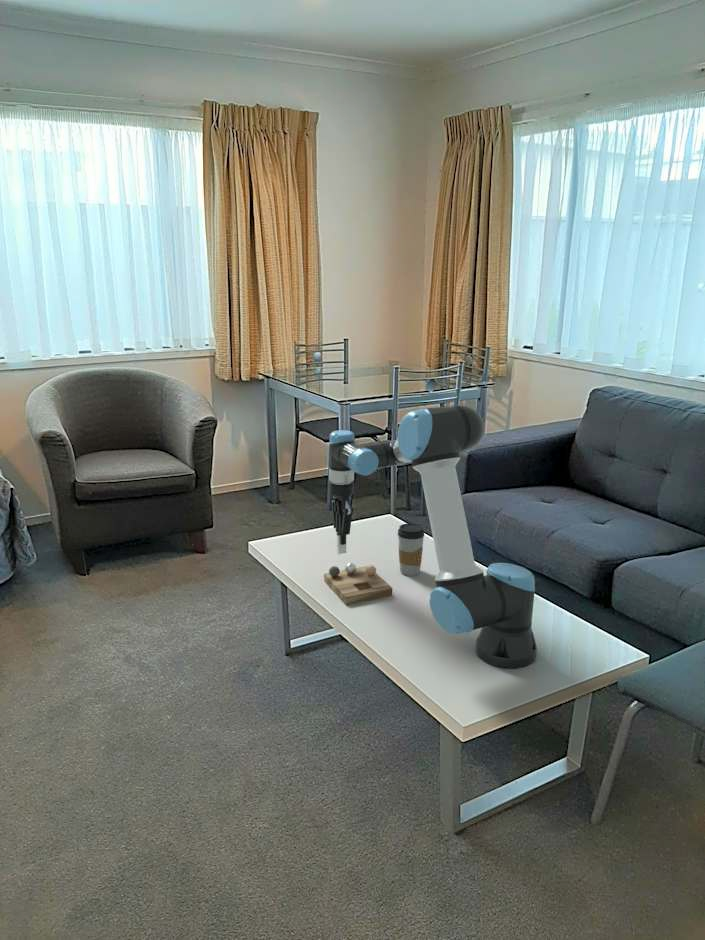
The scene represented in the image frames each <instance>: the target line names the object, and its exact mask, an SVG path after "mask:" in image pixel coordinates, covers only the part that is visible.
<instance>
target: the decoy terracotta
mask: <svg viewBox="0 0 705 940" xmlns="http://www.w3.org/2000/svg"><path fill="white" fill-rule="evenodd" d="M366 566H367V568H366V573H367V574H368V575H370V576H372V575H374V574H375V573H377V568H376V566H374V565H372V564H370V565H366Z"/></svg>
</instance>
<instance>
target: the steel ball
mask: <svg viewBox="0 0 705 940" xmlns="http://www.w3.org/2000/svg"><path fill="white" fill-rule="evenodd" d="M356 568H357V566H356V564H355V563H353V562H349V563H347V564H345V567H344V570H345V571H346V572H347V573H348V574H353V573H354V572H355V571H356Z"/></svg>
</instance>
